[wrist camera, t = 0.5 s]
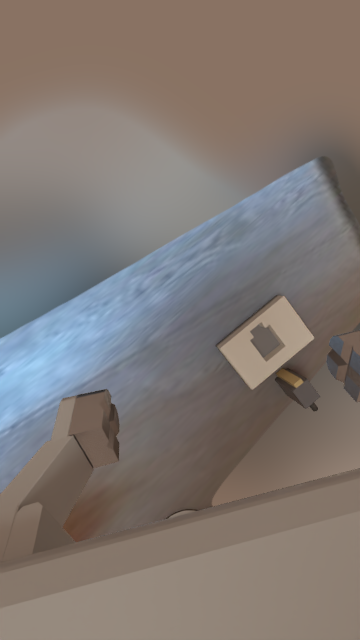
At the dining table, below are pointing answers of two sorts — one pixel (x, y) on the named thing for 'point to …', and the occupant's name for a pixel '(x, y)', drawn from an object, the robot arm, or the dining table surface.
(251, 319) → the socket block
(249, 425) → the dining table surface
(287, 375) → the plug
